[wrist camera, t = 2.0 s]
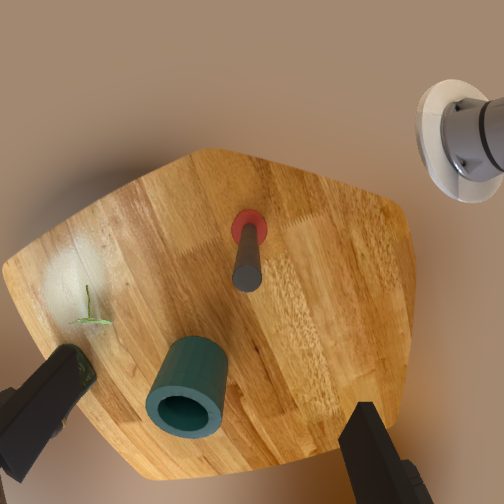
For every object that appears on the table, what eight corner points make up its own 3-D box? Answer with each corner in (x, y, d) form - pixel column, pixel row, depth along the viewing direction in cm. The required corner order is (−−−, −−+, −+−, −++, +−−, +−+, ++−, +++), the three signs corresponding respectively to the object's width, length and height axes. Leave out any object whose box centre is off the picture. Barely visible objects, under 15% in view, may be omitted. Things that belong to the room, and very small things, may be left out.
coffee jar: (52, 347, 46) (0, 398, 28) (76, 338, 46) (21, 394, 28) (78, 385, 48) (36, 443, 30) (103, 379, 48) (61, 444, 30)
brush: (264, 208, 41) (282, 240, 17) (266, 239, 42) (284, 309, 18) (232, 210, 41) (207, 245, 18) (234, 241, 42) (214, 313, 18)
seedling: (107, 292, 49) (108, 327, 47) (65, 289, 44) (66, 326, 42) (116, 281, 44) (118, 322, 42) (69, 278, 39) (69, 320, 37)
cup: (224, 335, 45) (216, 386, 33) (230, 385, 47) (225, 439, 35) (162, 336, 45) (137, 383, 33) (173, 384, 48) (155, 435, 35)
